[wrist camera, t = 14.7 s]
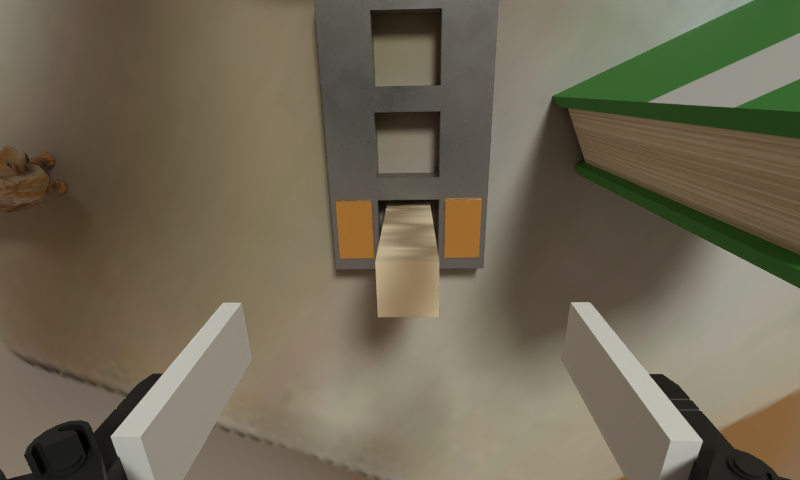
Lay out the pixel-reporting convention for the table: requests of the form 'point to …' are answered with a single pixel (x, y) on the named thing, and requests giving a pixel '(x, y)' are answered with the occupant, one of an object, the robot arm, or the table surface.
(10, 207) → the lion figurine
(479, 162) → the slotted board
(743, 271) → the table surface
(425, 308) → the peg
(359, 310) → the table surface
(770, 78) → the hardback book
